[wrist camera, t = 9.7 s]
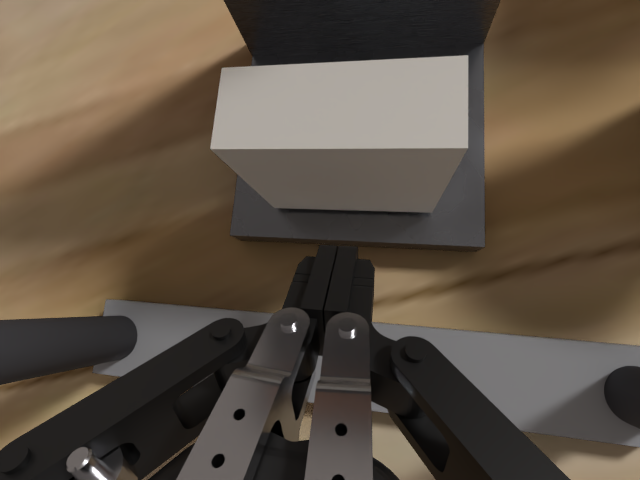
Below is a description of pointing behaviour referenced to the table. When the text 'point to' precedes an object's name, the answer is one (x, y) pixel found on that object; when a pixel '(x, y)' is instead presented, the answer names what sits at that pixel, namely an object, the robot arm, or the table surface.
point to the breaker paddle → (345, 131)
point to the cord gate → (456, 345)
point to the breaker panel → (359, 45)
